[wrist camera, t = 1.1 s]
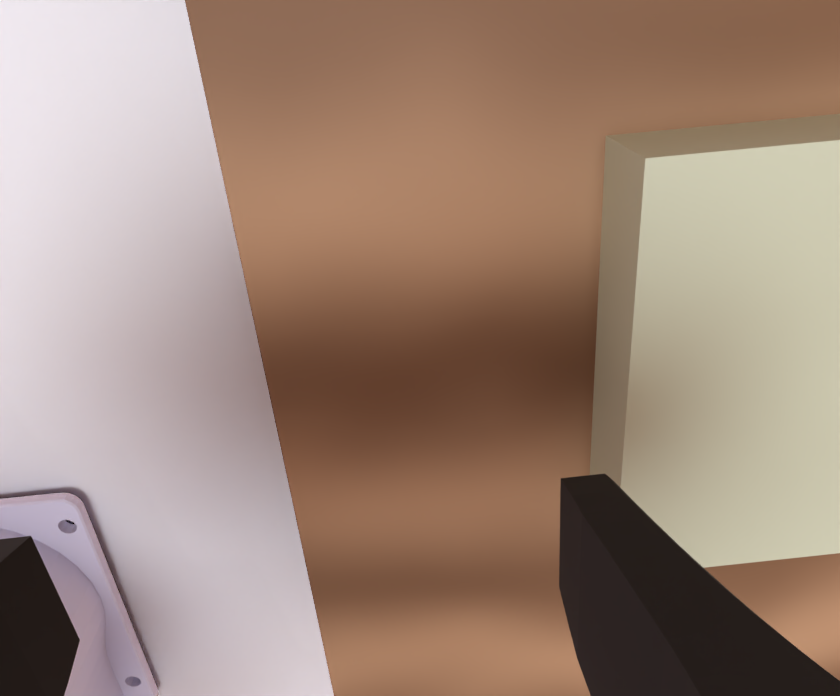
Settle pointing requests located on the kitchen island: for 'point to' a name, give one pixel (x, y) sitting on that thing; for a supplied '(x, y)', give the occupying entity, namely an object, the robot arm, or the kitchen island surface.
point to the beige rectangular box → (723, 335)
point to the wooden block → (467, 295)
